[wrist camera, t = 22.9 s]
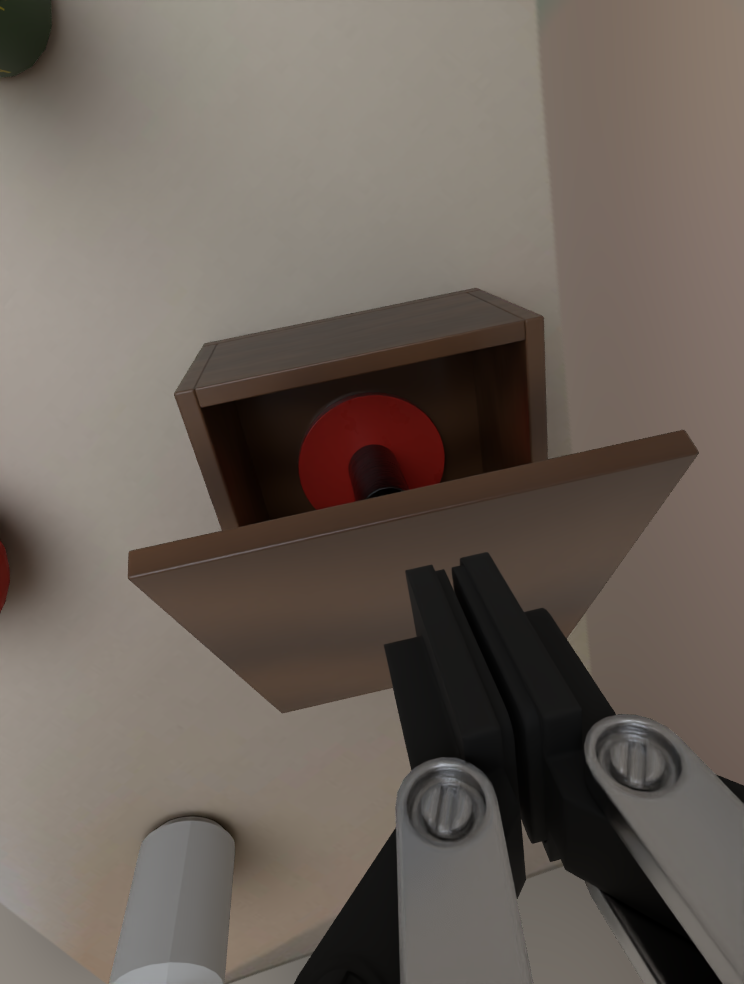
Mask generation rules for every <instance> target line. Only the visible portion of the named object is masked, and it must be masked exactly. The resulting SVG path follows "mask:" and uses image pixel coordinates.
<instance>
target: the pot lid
mask: <svg viewBox="0 0 744 984" xmlns="http://www.w3.org/2000/svg"><path fill="white" fill-rule="evenodd" d="M444 463H445V455H444V447H443V442H442V439H441V436H440V434H439V432H438V430H437V428H436V426H435V425H434V423H433V422H432V420H431V419H430V418H429V416H428V415H427V414H426V413H425V412H424V411H423V410H422V409H421V408H419V407H418V406H417V405H415V404H414V403H412V402H410V401H409V400H407V399H404V398H402V397H399V396H396V395H392V394H388V393H380V392H368V393H361V394H356V395H353V396H349V397H347V398H344V399H342V400H339V401H338V402H336V403H334V404H332V405H331V406H329V407H328V408H327V409H325V410H324V411H323V412H322V413H321V414H320V415H319V416H318V417H317V418H316V419H315V420H314V421H313V423H312V424H311V425H310V427H309V428H308V430H307V432H306V434H305V436H304V438H303V441H302V443H301V447H300V451H299V458H298V468H299V478H300V483H301V486H302V488H303V491H304V493H305V495H306V497H307V499H308V500H309V502H310V503H311V504H312V506H313V507H314V508H315V509H316V510H319V509H324V508H328V507H333V506H337V505H342V504H347V503H351V502H356V501H360V500H365V499H369V498H374V497H379V496H383V495H388V494H392V493H397V492H401V491H406V490H411V489H415V488H420V487H424V486H429V485H433V484H438V483H440V481H441V478H442V475H443V471H444Z"/></svg>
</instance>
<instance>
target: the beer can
mask: <svg viewBox="0 0 744 984" xmlns="http://www.w3.org/2000/svg"><path fill="white" fill-rule="evenodd" d="M51 27H52V21H51V0H0V77H10V76H15V75H17V74H19V73H21V72H23V71H25V70H26V69H28V68H30V67H32V66H33V65H34V63H35V62H36V61H37V59H38V58H39V57H40V56H41V54H42V53H43V52H44V50H45V48H46V45H47V41H48V38H49V34H50V31H51Z"/></svg>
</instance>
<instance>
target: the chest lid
mask: <svg viewBox="0 0 744 984" xmlns="http://www.w3.org/2000/svg"><path fill="white" fill-rule="evenodd" d="M698 454H699V452H698V450H697V448H696V446H695V445H694V443H693V442H692V440H691V439H690V437H689V436H688V434H687V433H686V431H685V430H680V431H676V432H671V433H667V434H663V435H657V436H653V437H648V438H644V439H639V440H635V441H630V442H625V443H621V444H616V445H612V446H607V447H603V448H599V449H593V450H589V451H585V452H580V453H575V454H571V455H566V456H561V457H557V458H552V459H548V460H543V461H539V462H534V463H529V464H525V465H520V466H516V467H511V468H507V469H502V470H497V471H493V472H488V473H484V474H479V475H475V476H470V477H465V478H461V479H456V480H452V481H447V482H443V483H438V484H433V485H429V486H424V487H420V488H415V489H411V490H406V491H401V492H397V493H392V494H388V495H383V496H379V497H374V498H369V499H365V500H360V501H356V502H351V503H347V504H342V505H337V506H333V507H328V508H324V509H319V510H315V511H310V512H305V513H301V514H296V515H292V516H287V517H283V518H278V519H273V520H269V521H264V522H260V523H255V524H251V525H246V526H241V527H237V528H232V529H228V530H223V531H219V532H214V533H209V534H205V535H200V536H196V537H191V538H187V539H182V540H177V541H173V542H168V543H164V544H159V545H155V546H150V547H145V548H141V549H136V550H132V551H129V556H128V579H129V580H130V581H131V582H132V583H133V584H135V585H136V586H137V587H138V588H139V589H140V590H141V591H143V592H144V593H145V594H146V595H147V596H148V597H149V598H151V599H152V600H153V601H154V602H155V603H156V604H157V605H159V606H160V607H161V608H162V609H163V610H164V611H165V612H167V613H168V614H169V615H170V616H171V617H172V618H173V619H175V620H176V621H177V622H178V623H179V624H180V625H181V626H183V627H184V628H185V629H186V630H187V631H188V632H189V633H191V634H192V635H193V636H194V637H195V638H196V639H197V640H199V641H200V642H201V643H202V644H203V645H204V646H205V647H207V648H208V649H209V650H210V651H211V652H212V653H214V654H215V655H216V656H217V657H218V658H219V659H220V660H222V661H223V662H224V663H225V664H226V665H227V666H228V667H230V668H231V669H232V670H233V671H234V672H235V673H236V674H238V675H239V676H240V677H241V678H242V679H243V680H244V681H246V682H247V683H248V684H249V685H250V686H251V687H252V688H254V689H255V690H256V691H257V692H258V693H259V694H260V695H262V696H263V697H264V698H265V699H266V700H267V701H268V702H270V703H271V704H272V705H273V706H274V707H275V708H276V709H278V710H279V711H280V712H281V713H286V712H290V711H295V710H299V709H303V708H308V707H312V706H316V705H320V704H325V703H329V702H333V701H338V700H342V699H346V698H350V697H355V696H359V695H363V694H368V693H372V692H376V691H381V690H385V689H389V688H393V686H392V681H391V677H390V672H389V667H388V663H387V658H386V654H385V649H384V644H388V643H392V642H396V641H401V640H405V639H409V638H414V637H417V636H416V630H415V624H414V619H413V613H412V608H411V602H410V596H409V591H408V585H407V580H406V573H405V571H406V570H409V569H414V568H418V567H422V566H427V565H431V564H432V565H433V567H434V569H435V571H438V570H442V569H444V570H445V572H446V574H447V576H448V578H449V581H450V583H451V585H452V587H453V579H452V567H455V566H460V558H462V557H466V556H471V555H475V554H480V553H484V552H488V553H489V554H490V556H491V558H492V559H493V561H494V563H495V564H496V566H497V568H498V569H499V571H500V573H501V574H502V576H503V578H504V579H505V581H506V583H507V584H508V586H509V588H510V589H511V591H512V593H513V594H514V596H515V598H516V600H517V601H518V603H519V605H520V606H521V608H522V610H523V611H524V612H526V611H530V610H534V609H539V608H544V609H546V610H547V611H548V612H549V613H550V615H551V616H552V618H553V619H554V621H555V622H556V624H557V625H558V627H559V628H560V630H561V631H562V633H563V634H564V636H565V637H566V639H567V637H568V636H569V635H570V633H571V632H572V630H573V629H574V628H575V626H576V625H577V623H578V622H579V621H580V619H581V618H582V616H583V615H584V614H585V612H586V611H587V609H588V608H589V606H590V605H591V604H592V602H593V601H594V600H595V598H596V597H597V595H598V594H599V593H600V591H601V590H602V588H603V587H604V585H605V584H606V583H607V581H608V580H609V578H610V577H611V575H612V574H613V573H614V571H615V570H616V569H617V567H618V566H619V564H620V563H621V562H622V560H623V559H624V557H625V556H626V555H627V553H628V552H629V550H630V549H631V548H632V546H633V545H634V543H635V542H636V541H637V539H638V538H639V536H640V535H641V534H642V532H643V531H644V529H645V528H646V527H647V525H648V524H649V522H650V521H651V520H652V518H653V517H654V515H655V514H656V513H657V511H658V510H659V508H660V507H661V505H662V504H663V503H664V501H665V500H666V498H667V497H668V496H669V494H670V493H671V492H672V490H673V489H674V487H675V486H676V484H677V483H678V482H679V480H680V479H681V478H682V476H683V475H684V473H685V472H686V471H687V469H688V468H689V466H690V465H691V463H692V462H693V461H694V459H695V458H696V457H697V455H698ZM453 590H454V587H453Z"/></svg>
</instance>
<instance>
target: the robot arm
mask: <svg viewBox="0 0 744 984" xmlns="http://www.w3.org/2000/svg"><path fill="white" fill-rule="evenodd" d="M405 573H406V580H407V585H408V591H409V596H410V602H411V608H412V613H413V619H414V624H415V630H416V636H417V637H414V638H409V639H405V640H401V641H396V642H392V643H388V644H384V649H385V654H386V658H387V663H388V667H389V672H390V677H391V681H392V686H393V690H394V695H395V699H396V704H397V708H398V713H399V717H400V722H401V726H402V730H403V735H404V739H405V744H406V748H407V753H408V757H409V762H410V766H411V770H412V771H411V772H410V773H409V774H408V775H407V776H406V777H405V778H404V780H403V782H402V784H401V786H400V788H399V790H398V792H397V800H396V828H395V830H394V831H393V833H392V834H391V836H390V837H389V839H388V840H387V842H386V843H385V845H384V846H383V848H382V849H381V851H380V852H379V854H378V855H377V857H376V858H375V860H374V861H373V863H372V865H371V866H370V868H369V869H368V871H367V872H366V874H365V875H364V877H363V878H362V880H361V881H360V883H359V884H358V886H357V887H356V889H355V890H354V892H353V893H352V895H351V896H350V898H349V899H348V901H347V902H346V904H345V905H344V907H343V908H342V910H341V911H340V913H339V914H338V916H337V918H336V919H335V921H334V922H333V924H332V925H331V927H330V928H329V930H328V931H327V933H326V934H325V936H324V937H323V939H322V940H321V942H320V943H319V945H318V946H317V948H316V949H315V951H314V952H313V954H312V955H311V957H310V958H309V960H308V961H307V963H306V964H305V966H304V968H303V969H302V971H301V972H300V974H299V975H298V977H297V979H296V981H295V983H294V984H533V979H532V974H531V969H530V964H529V959H528V954H527V948H526V943H525V939H524V934H523V928H522V923H521V918H520V913H519V908H518V903H517V899H518V896H519V894H520V892H521V890H522V887H523V885H524V883H525V881H526V875H525V862H524V850H523V838H522V826H521V820H522V822H523V825H524V827H525V830H526V832H527V835H528V837H529V839H530V841H531V843H532V844H533V843H537V842H541V841H542V843H543V845H544V848H545V850H546V853H547V855H548V858H549V860H550V862H552V861H556V860H560V859H561V861H562V863H563V865H564V868H565V870H567V871H569V872H570V873H572V874H574V875H575V876H577V877H579V878H581V879H583V880H584V881H585V883H586V886H587V888H588V890H589V892H590V895H591V897H592V899H593V900H594V902H595V903H596V905H597V907H598V909H599V910H600V912H601V914H602V915H603V917H604V919H605V920H606V922H607V924H608V925H609V927H610V929H611V930H612V932H613V934H614V935H615V937H616V939H617V940H618V942H619V943H620V945H621V947H622V949H623V950H624V952H625V954H626V955H627V957H628V959H629V960H630V962H631V964H632V965H633V967H634V969H635V970H636V972H637V974H638V975H639V977H640V979H641V980H642V982H643V984H744V786H743V785H741V784H738V783H736V782H733V781H730V780H728V779H726V778H723V777H721V776H718V775H716V774H714V773H713V772H712V770H711V769H710V768H709V767H708V766H707V765H706V764H705V763H704V762H703V761H702V760H701V759H700V758H699V757H698V756H697V755H696V754H695V753H694V752H693V751H692V750H691V749H690V748H689V747H688V746H687V745H686V743H685V742H683V740H682V739H681V738H680V737H679V736H677V735H676V734H675V733H674V732H672V731H671V730H670V729H669V728H668V727H666V726H664V725H662V724H660V723H658V722H656V721H654V720H652V719H649V718H646V717H642V716H638V715H628V714H618V715H616V714H615V712H614V710H613V709H612V707H611V706H610V705H609V703H608V701H607V700H606V698H605V697H604V695H603V694H602V693H601V691H600V689H599V688H598V686H597V685H596V683H595V682H594V680H593V679H592V677H591V675H590V674H589V672H588V671H587V669H586V668H585V666H584V665H583V663H582V662H581V660H580V659H579V657H578V656H577V654H576V653H575V651H574V650H573V648H572V647H571V645H570V644H569V642H568V641H567V639H566V637H565V636H564V634H563V633H562V631H561V630H560V628H559V627H558V625H557V624H556V622H555V621H554V619H553V618H552V616H551V615H550V613H549V612H548V611H547V610H546V609H544V608H539V609H534V610H530V611H526V612H524V611H523V610H522V608H521V606H520V605H519V603H518V601H517V600H516V598H515V596H514V594H513V593H512V591H511V589H510V588H509V586H508V584H507V583H506V581H505V579H504V578H503V576H502V574H501V573H500V571H499V569H498V568H497V566H496V564H495V563H494V561H493V559H492V558H491V556H490V554H489V553H488V552H484V553H480V554H475V555H471V556H466V557H462V558H460V566H455V567H452V579H453V587H454V590H453V587H452V585H451V583H450V581H449V578H448V576H447V574H446V572H445V570H444V569H442V570H438V571H435V569H434V567H433V565H432V564H431V565H427V566H422V567H418V568H414V569H409V570H406V571H405Z"/></svg>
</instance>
